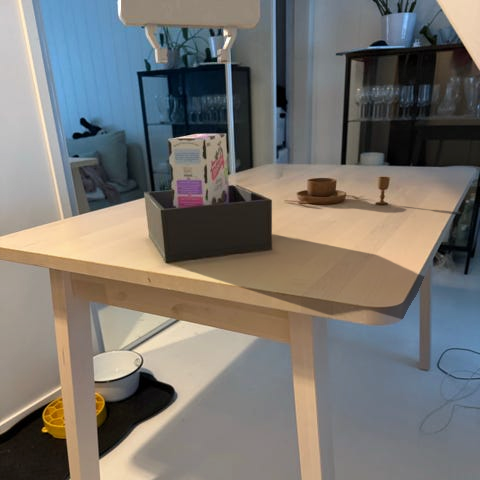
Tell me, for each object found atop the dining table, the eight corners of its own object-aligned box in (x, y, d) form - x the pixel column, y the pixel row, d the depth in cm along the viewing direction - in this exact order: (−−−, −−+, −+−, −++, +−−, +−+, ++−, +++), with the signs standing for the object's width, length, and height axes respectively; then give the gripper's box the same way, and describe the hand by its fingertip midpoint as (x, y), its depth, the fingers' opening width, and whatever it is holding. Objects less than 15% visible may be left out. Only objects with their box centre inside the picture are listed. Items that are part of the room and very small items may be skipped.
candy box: (211, 249, 72) (204, 137, 65) (175, 248, 73) (165, 137, 66) (231, 228, 84) (227, 131, 77) (200, 228, 85) (194, 132, 79)
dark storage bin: (165, 263, 70) (160, 210, 66) (149, 236, 85) (143, 192, 81) (272, 249, 75) (272, 199, 71) (238, 226, 90) (236, 184, 86)
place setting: (330, 192, 121) (331, 169, 118) (392, 203, 106) (395, 177, 103) (278, 201, 112) (278, 176, 110) (337, 214, 97) (338, 185, 94)
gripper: (110, -68, 57) (124, 60, 63) (264, -55, 63) (264, 61, 68) (106, -52, 62) (120, 64, 68) (248, -42, 68) (249, 65, 74)
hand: (193, 63), depth 68 cm, fingers open, 8 cm apart
